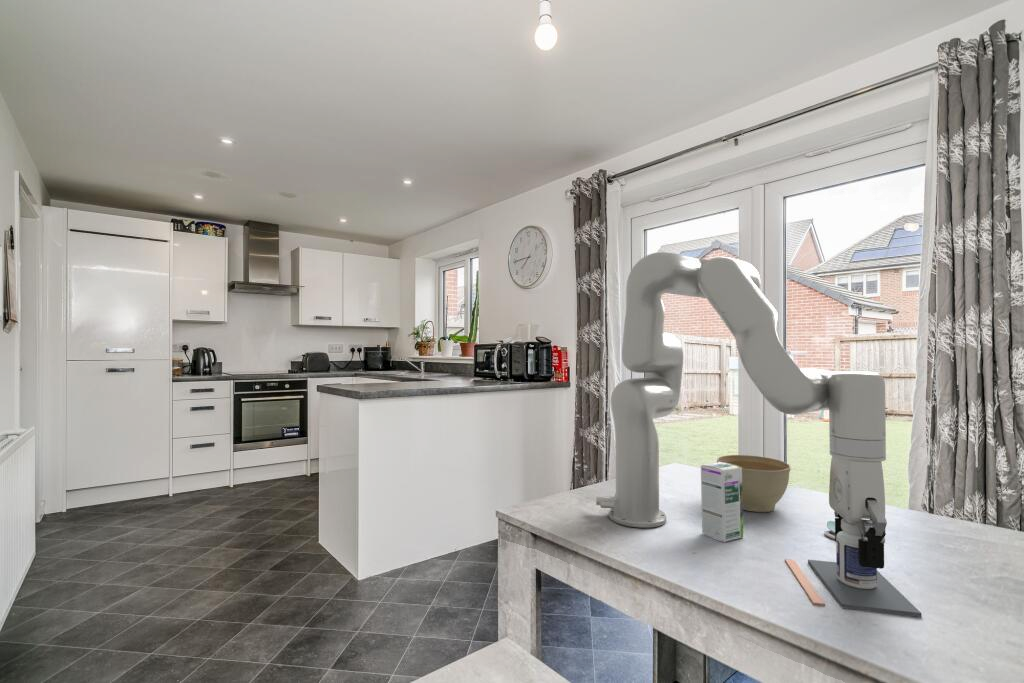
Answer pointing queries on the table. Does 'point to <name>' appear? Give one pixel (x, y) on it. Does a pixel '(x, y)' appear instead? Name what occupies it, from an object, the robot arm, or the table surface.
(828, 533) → the pacifier
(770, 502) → the planter bowl
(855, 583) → the pill bottle
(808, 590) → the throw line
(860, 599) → the mat
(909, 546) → the table surface
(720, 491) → the syrup box
